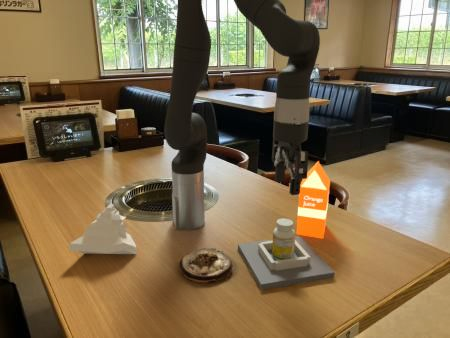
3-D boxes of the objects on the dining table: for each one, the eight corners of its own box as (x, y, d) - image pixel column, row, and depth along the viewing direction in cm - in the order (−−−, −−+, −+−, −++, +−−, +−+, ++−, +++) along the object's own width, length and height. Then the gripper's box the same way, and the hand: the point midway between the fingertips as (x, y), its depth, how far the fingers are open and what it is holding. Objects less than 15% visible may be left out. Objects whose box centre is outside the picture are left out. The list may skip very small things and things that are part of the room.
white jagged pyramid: (87, 246, 102) (91, 195, 101) (141, 251, 102) (145, 200, 101) (68, 260, 90) (72, 202, 89) (129, 266, 90) (134, 208, 89)
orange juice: (326, 225, 111) (332, 161, 105) (323, 238, 103) (330, 171, 97) (300, 221, 114) (304, 159, 107) (295, 234, 106) (300, 168, 99)
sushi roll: (181, 294, 81) (180, 278, 80) (171, 258, 95) (170, 244, 93) (245, 282, 85) (245, 267, 83) (226, 250, 98) (226, 236, 97)
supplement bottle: (286, 265, 88) (288, 229, 85) (267, 257, 91) (269, 222, 88) (297, 256, 92) (300, 221, 89) (279, 248, 95) (281, 215, 92)
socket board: (261, 290, 82) (261, 276, 81) (237, 248, 98) (238, 237, 97) (333, 277, 86) (335, 264, 85) (300, 240, 102) (300, 229, 101)
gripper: (263, 113, 86) (261, 178, 91) (288, 125, 73) (284, 201, 78) (293, 112, 88) (289, 176, 93) (322, 124, 75) (316, 197, 80)
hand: (286, 187), depth 86 cm, fingers open, 8 cm apart
